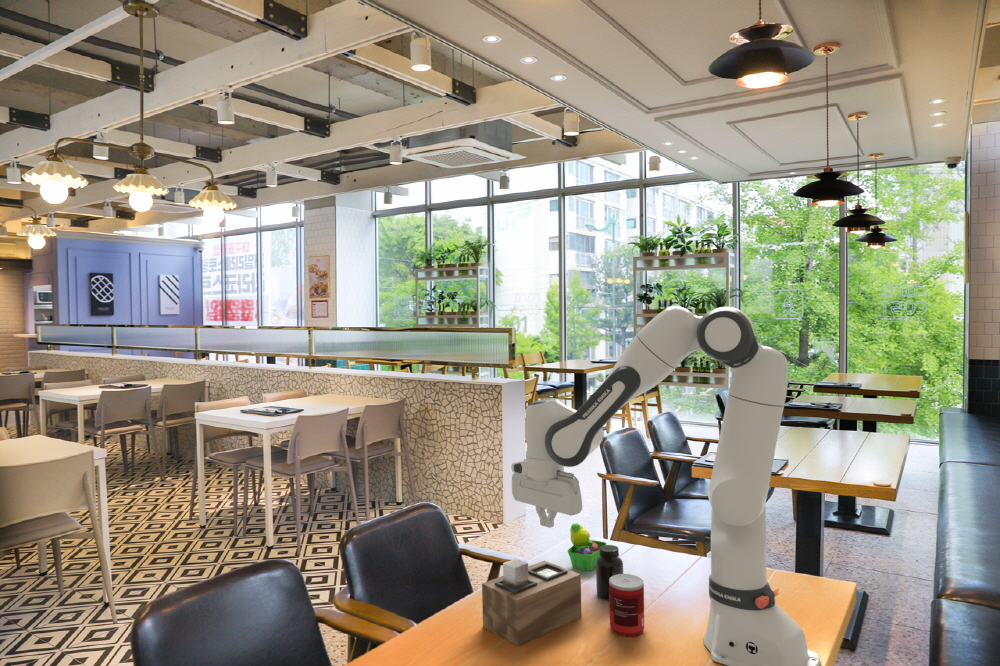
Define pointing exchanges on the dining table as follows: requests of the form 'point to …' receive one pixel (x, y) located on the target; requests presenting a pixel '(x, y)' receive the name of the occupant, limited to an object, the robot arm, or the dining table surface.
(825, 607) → the dining table surface
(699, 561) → the dining table surface
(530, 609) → the socket block
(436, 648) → the dining table surface
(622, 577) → the canned food
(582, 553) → the fruit basket
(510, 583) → the peg
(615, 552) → the supplement bottle
